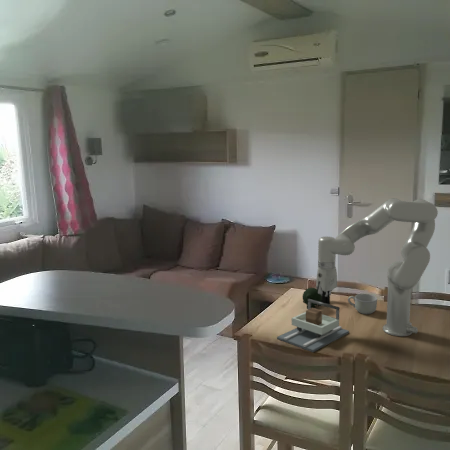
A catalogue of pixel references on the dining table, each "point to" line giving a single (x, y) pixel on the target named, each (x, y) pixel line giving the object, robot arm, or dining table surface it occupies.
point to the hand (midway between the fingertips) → (325, 304)
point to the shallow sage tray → (321, 329)
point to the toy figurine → (311, 296)
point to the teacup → (364, 303)
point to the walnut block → (314, 316)
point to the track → (311, 338)
